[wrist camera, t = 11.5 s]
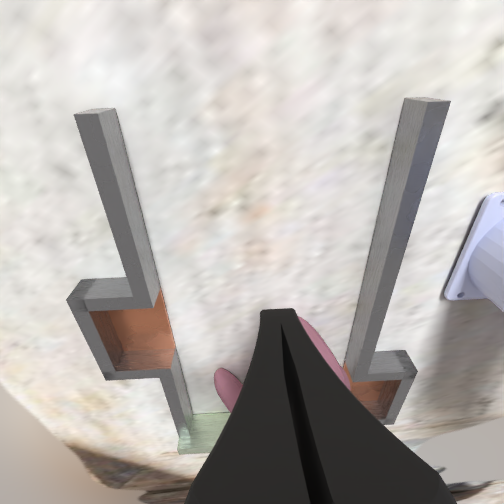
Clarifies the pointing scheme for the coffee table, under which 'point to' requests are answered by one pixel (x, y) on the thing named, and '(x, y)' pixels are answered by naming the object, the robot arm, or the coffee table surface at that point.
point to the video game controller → (231, 386)
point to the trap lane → (152, 303)
